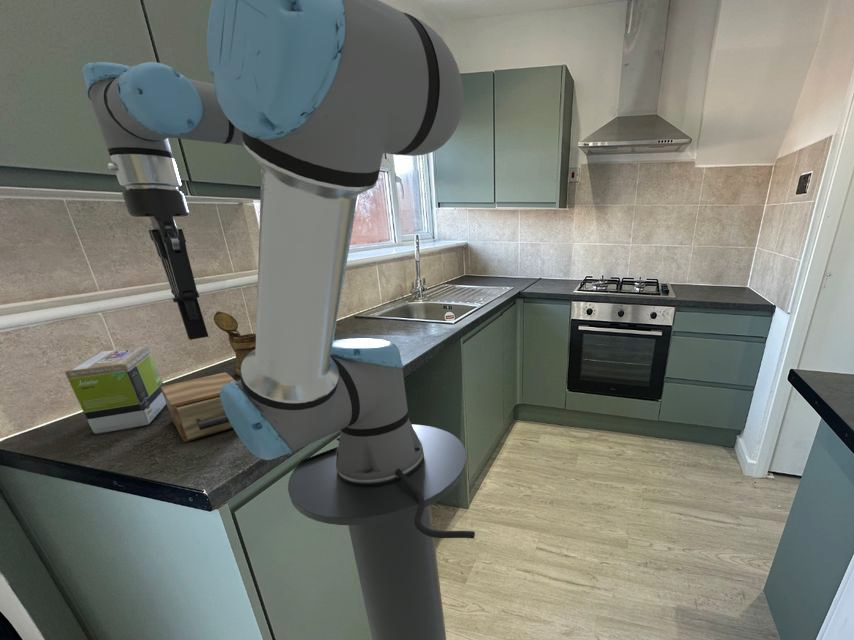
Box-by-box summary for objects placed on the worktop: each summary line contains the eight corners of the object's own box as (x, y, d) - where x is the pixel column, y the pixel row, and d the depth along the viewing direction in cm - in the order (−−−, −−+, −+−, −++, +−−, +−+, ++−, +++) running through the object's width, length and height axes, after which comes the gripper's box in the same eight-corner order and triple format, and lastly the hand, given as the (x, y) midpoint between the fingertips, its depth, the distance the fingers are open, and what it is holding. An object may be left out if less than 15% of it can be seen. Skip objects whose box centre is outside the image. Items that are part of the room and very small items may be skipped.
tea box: (121, 408, 101) (97, 350, 96) (171, 401, 104) (151, 344, 99) (91, 435, 88) (62, 369, 83) (149, 425, 92) (125, 362, 86)
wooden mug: (247, 364, 131) (231, 308, 125) (279, 368, 127) (264, 310, 120) (220, 374, 124) (202, 314, 117) (253, 378, 119) (236, 316, 112)
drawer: (255, 427, 88) (247, 397, 85) (191, 446, 80) (180, 415, 78) (234, 404, 99) (226, 378, 97) (176, 419, 92) (166, 391, 90)
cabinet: (252, 421, 92) (242, 386, 89) (184, 442, 84) (170, 404, 81) (235, 404, 102) (225, 372, 99) (172, 421, 93) (160, 386, 90)
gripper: (117, 191, 66) (166, 335, 75) (124, 184, 57) (178, 348, 66) (175, 192, 71) (215, 328, 79) (190, 186, 62) (232, 339, 71)
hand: (198, 337), depth 73 cm, fingers closed
